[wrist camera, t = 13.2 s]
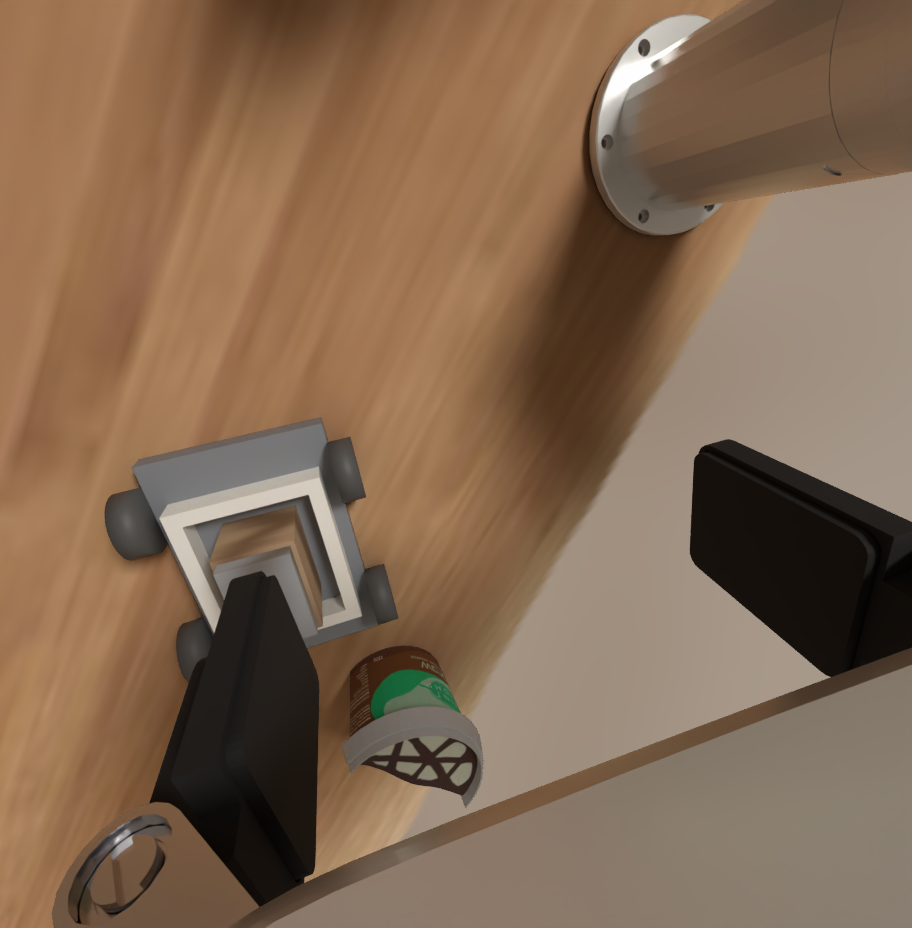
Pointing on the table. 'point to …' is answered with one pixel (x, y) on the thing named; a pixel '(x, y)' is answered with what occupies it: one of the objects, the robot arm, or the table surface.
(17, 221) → the table surface
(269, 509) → the chassis
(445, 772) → the food container
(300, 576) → the grey block on wood
